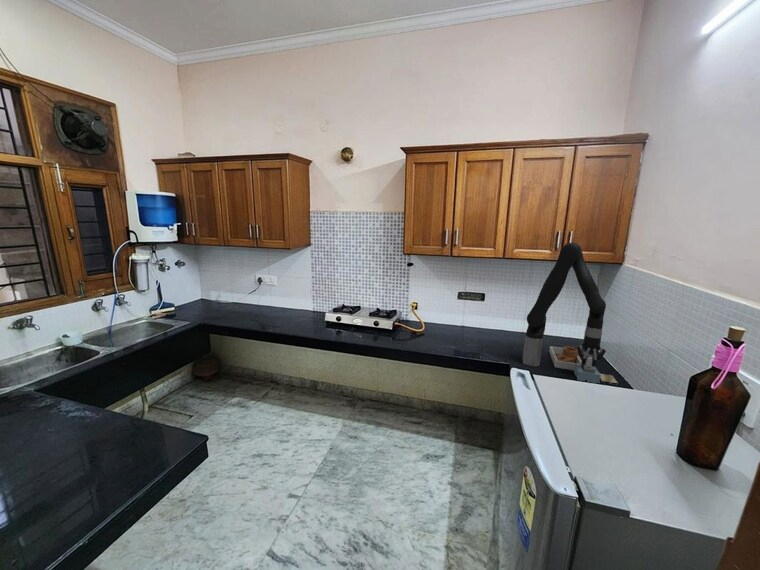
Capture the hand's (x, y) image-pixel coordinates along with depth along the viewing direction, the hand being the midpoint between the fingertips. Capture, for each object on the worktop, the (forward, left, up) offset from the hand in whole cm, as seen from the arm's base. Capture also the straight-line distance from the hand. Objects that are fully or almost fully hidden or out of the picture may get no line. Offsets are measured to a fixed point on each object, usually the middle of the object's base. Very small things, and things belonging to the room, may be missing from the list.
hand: (588, 364), depth 171 cm
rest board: (+10, +3, -8) cm, 13 cm away
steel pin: (0, 0, -8) cm, 8 cm away
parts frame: (-7, +20, -8) cm, 23 cm away
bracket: (-7, +20, -8) cm, 23 cm away
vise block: (0, 0, -8) cm, 8 cm away
